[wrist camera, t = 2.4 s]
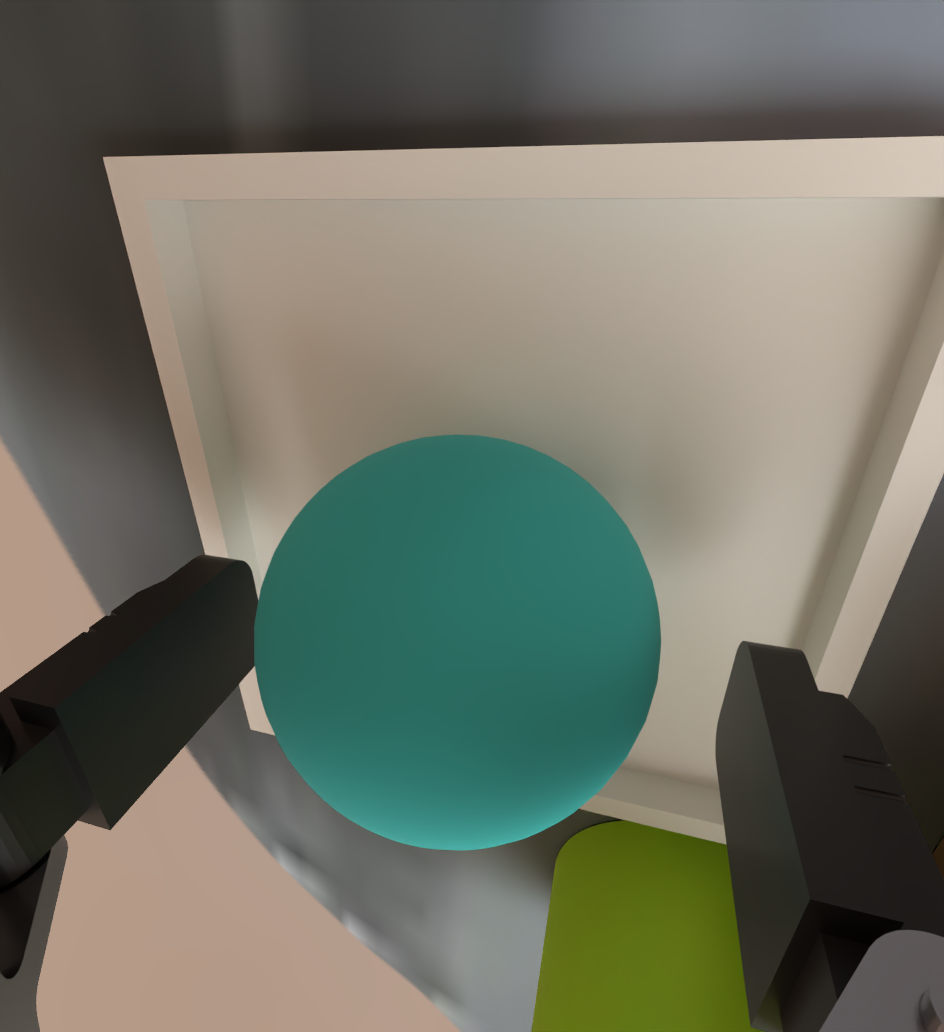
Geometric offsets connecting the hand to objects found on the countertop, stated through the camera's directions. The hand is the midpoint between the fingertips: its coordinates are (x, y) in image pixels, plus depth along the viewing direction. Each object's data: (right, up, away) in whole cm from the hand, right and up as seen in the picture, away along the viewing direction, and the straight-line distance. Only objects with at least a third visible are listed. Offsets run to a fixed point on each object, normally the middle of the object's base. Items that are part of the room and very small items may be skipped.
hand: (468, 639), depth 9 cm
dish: (+1, +2, +2) cm, 3 cm away
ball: (0, 0, 0) cm, 0 cm away
